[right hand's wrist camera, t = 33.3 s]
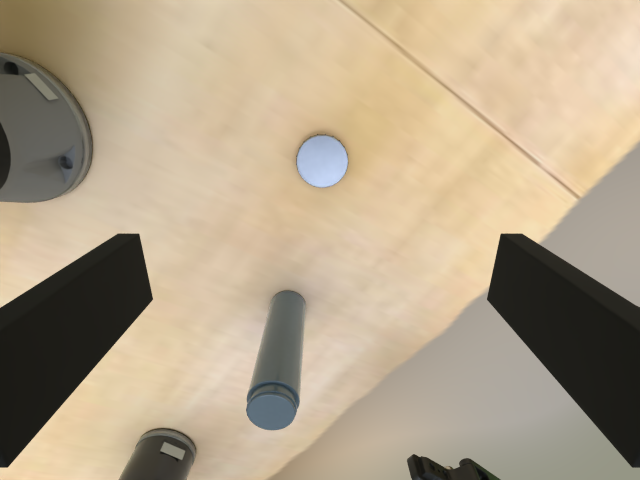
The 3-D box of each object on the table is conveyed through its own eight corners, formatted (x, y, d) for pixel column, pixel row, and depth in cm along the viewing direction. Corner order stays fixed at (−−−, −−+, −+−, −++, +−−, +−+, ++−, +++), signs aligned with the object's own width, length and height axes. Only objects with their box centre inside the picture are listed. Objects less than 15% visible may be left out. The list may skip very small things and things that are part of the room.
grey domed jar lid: (292, 138, 38) (291, 140, 36) (343, 129, 37) (344, 130, 36) (302, 189, 40) (301, 192, 38) (350, 180, 39) (352, 183, 38)
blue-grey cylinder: (273, 287, 45) (247, 388, 29) (309, 294, 45) (303, 397, 29) (267, 317, 46) (240, 428, 30) (302, 323, 47) (293, 436, 31)
